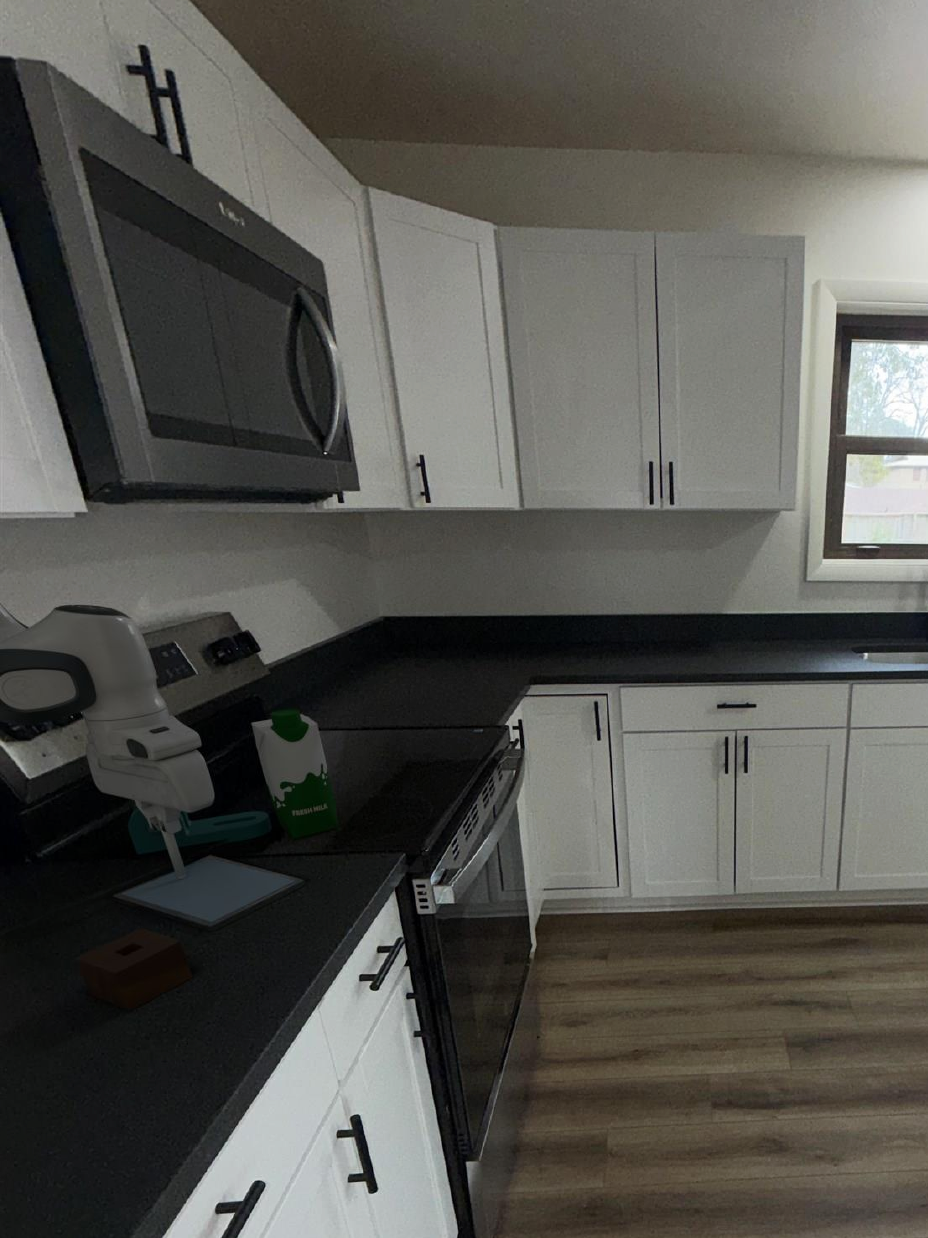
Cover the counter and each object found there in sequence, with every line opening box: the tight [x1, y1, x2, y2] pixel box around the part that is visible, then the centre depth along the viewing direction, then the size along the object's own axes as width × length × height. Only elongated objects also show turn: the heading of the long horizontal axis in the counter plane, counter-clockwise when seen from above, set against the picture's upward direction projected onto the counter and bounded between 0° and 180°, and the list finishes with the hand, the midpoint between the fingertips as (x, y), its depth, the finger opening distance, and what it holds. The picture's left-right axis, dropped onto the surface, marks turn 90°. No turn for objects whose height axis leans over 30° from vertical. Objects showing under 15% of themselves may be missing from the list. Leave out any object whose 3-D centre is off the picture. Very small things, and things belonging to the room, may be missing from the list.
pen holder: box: [75, 927, 193, 1012], centre depth 87 cm, size 7×7×5 cm
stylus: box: [153, 804, 187, 879], centre depth 107 cm, size 1×1×12 cm
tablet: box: [112, 854, 306, 933], centre depth 108 cm, size 20×14×1 cm
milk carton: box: [251, 708, 340, 840], centre depth 125 cm, size 9×9×20 cm
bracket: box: [127, 803, 273, 856], centre depth 123 cm, size 18×7×8 cm, turn 119°
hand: (166, 830), depth 107 cm, fingers closed on stylus, 1 cm apart
